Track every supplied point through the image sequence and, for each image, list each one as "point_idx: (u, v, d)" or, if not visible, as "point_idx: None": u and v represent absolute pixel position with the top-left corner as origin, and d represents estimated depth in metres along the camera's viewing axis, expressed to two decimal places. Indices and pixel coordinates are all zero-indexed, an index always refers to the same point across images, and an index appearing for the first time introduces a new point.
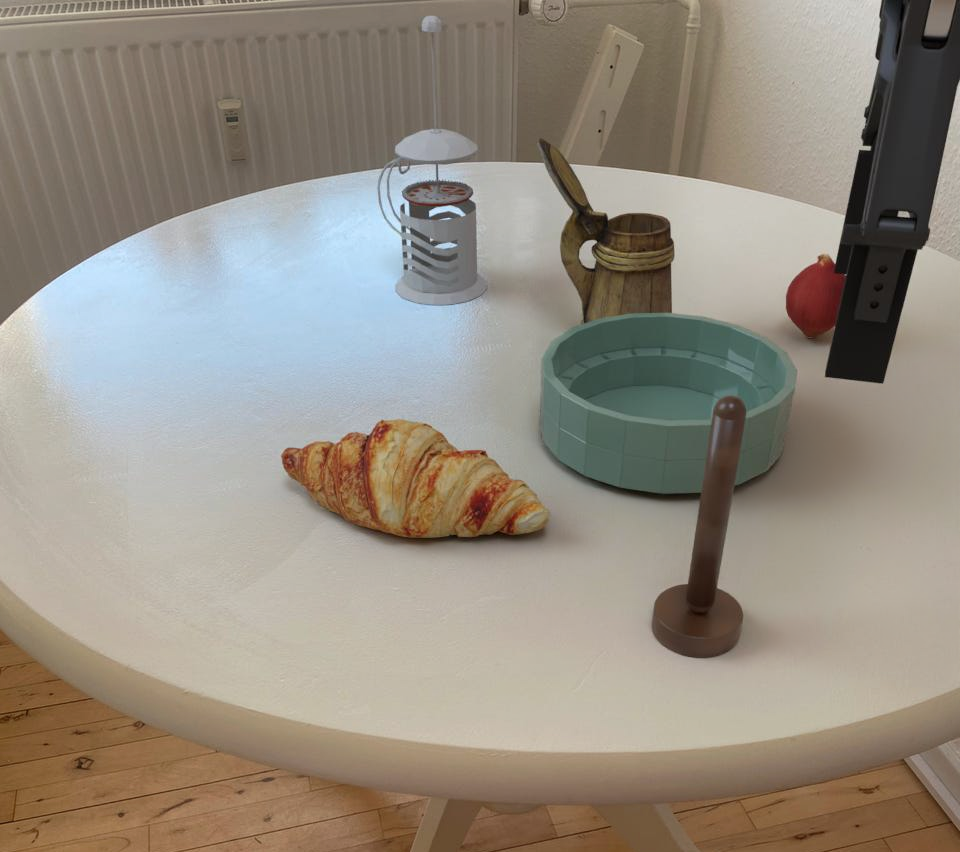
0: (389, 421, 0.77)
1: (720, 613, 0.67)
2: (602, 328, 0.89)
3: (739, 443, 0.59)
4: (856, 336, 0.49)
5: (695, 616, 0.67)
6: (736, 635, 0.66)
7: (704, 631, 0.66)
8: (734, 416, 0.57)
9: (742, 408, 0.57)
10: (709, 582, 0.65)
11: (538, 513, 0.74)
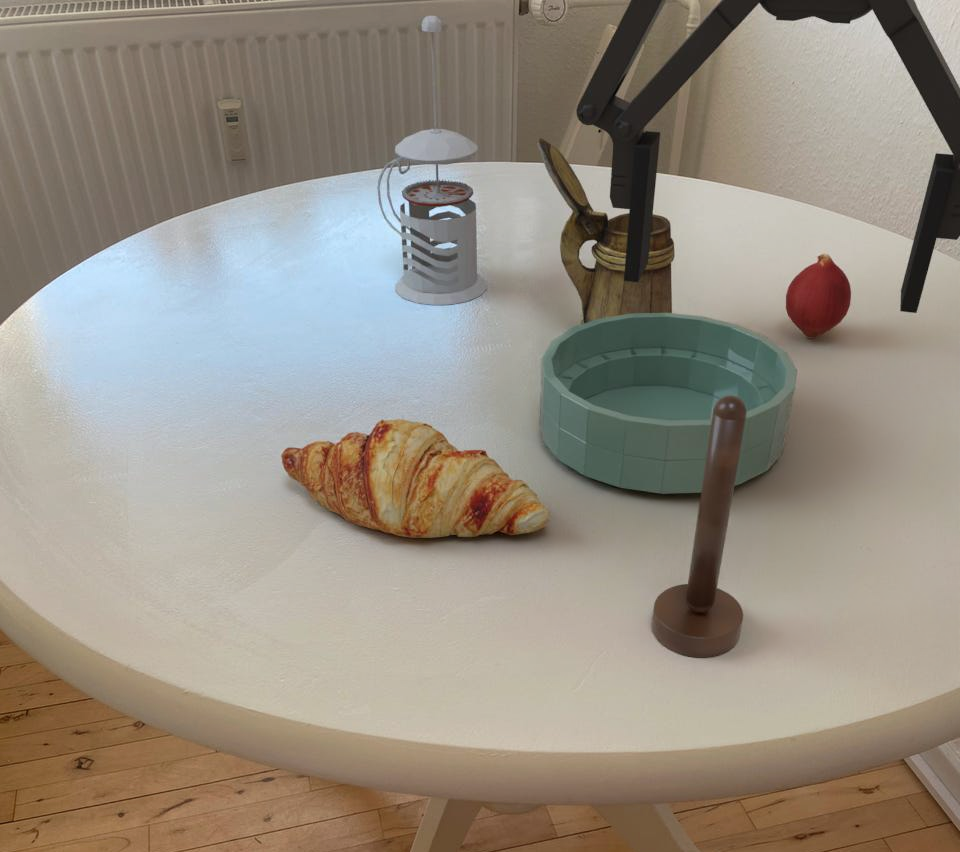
0: (389, 421, 0.77)
1: (720, 613, 0.67)
2: (602, 328, 0.89)
3: (739, 443, 0.59)
4: None
5: (695, 616, 0.67)
6: (736, 635, 0.66)
7: (704, 631, 0.66)
8: (734, 416, 0.57)
9: (742, 408, 0.57)
10: (709, 582, 0.65)
11: (538, 513, 0.74)
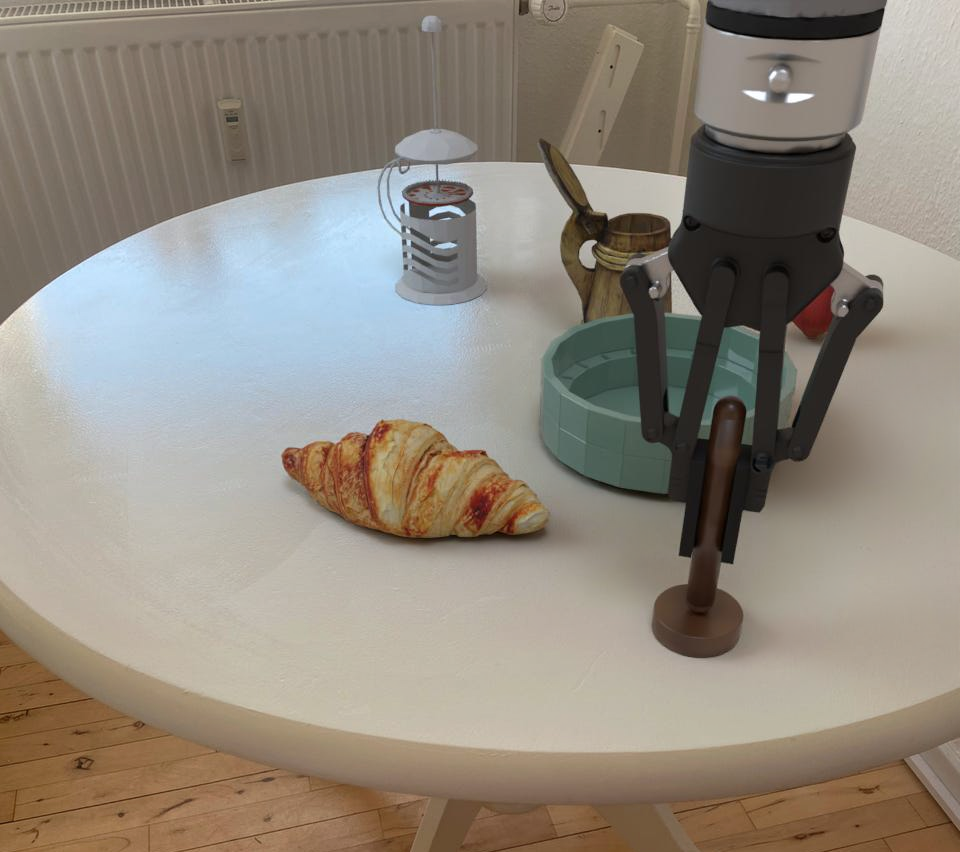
0: (389, 421, 0.77)
1: (720, 613, 0.67)
2: (602, 328, 0.89)
3: (739, 443, 0.59)
4: None
5: (695, 616, 0.67)
6: (736, 635, 0.66)
7: (704, 631, 0.66)
8: (734, 416, 0.57)
9: (742, 408, 0.57)
10: (709, 582, 0.65)
11: (538, 513, 0.74)
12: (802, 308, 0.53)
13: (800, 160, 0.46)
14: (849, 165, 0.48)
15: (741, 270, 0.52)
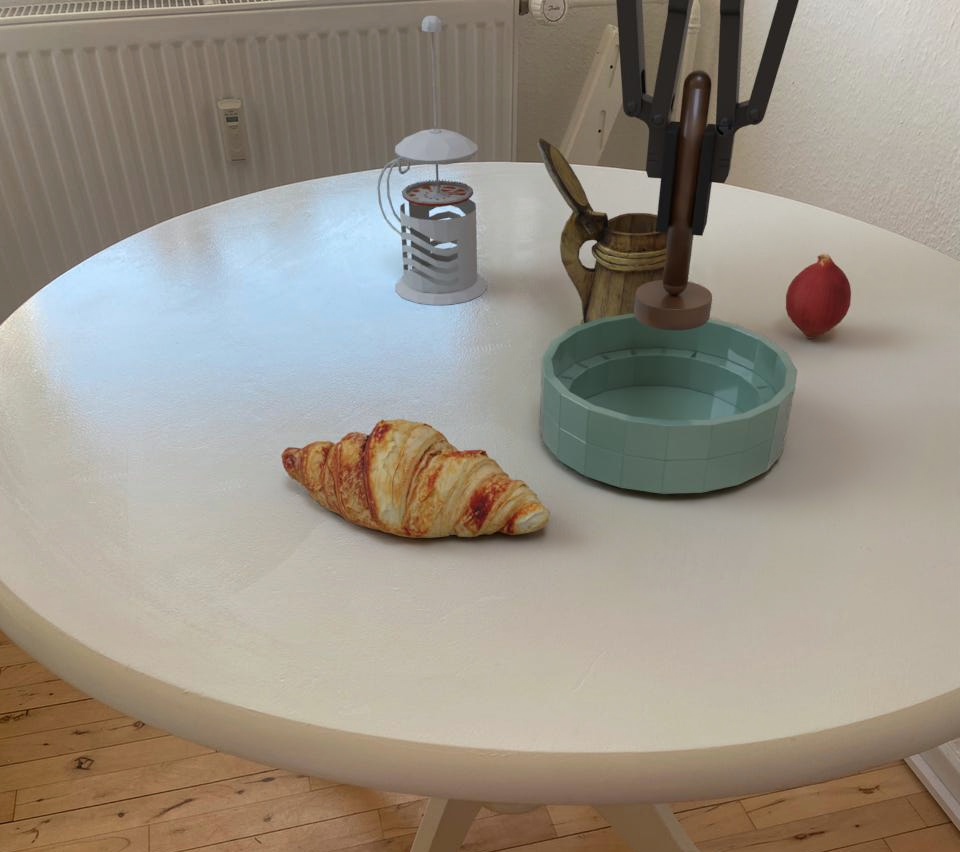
0: (389, 421, 0.77)
1: (693, 295, 0.77)
2: (602, 328, 0.89)
3: (706, 114, 0.69)
4: (708, 198, 0.73)
5: (670, 297, 0.77)
6: (706, 312, 0.77)
7: (678, 305, 0.76)
8: (701, 85, 0.68)
9: (707, 78, 0.68)
10: (682, 259, 0.75)
11: (538, 513, 0.74)
12: None
13: None
14: None
15: None
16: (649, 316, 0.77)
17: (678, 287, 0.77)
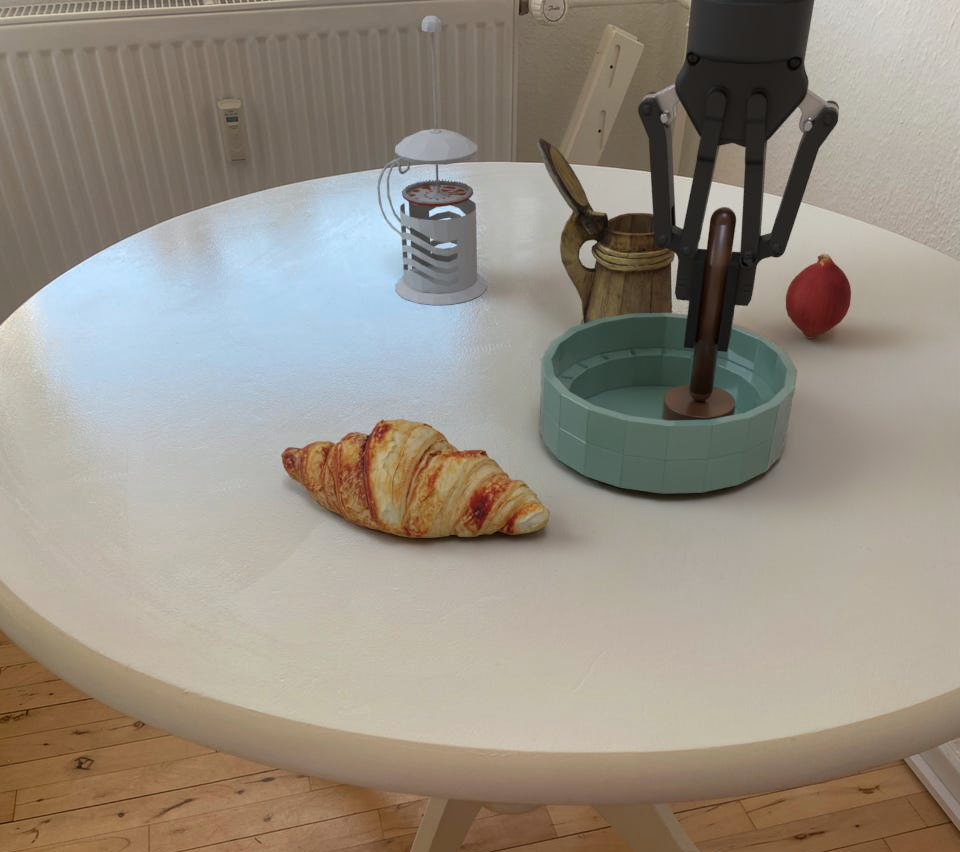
0: (389, 421, 0.77)
1: (717, 401, 0.83)
2: (602, 328, 0.89)
3: (730, 246, 0.75)
4: (732, 318, 0.79)
5: (697, 404, 0.83)
6: None
7: (704, 412, 0.82)
8: (726, 222, 0.74)
9: (732, 216, 0.74)
10: (708, 371, 0.81)
11: (538, 513, 0.74)
12: (777, 126, 0.69)
13: None
14: (810, 6, 0.64)
15: (730, 96, 0.69)
16: None
17: (704, 395, 0.83)
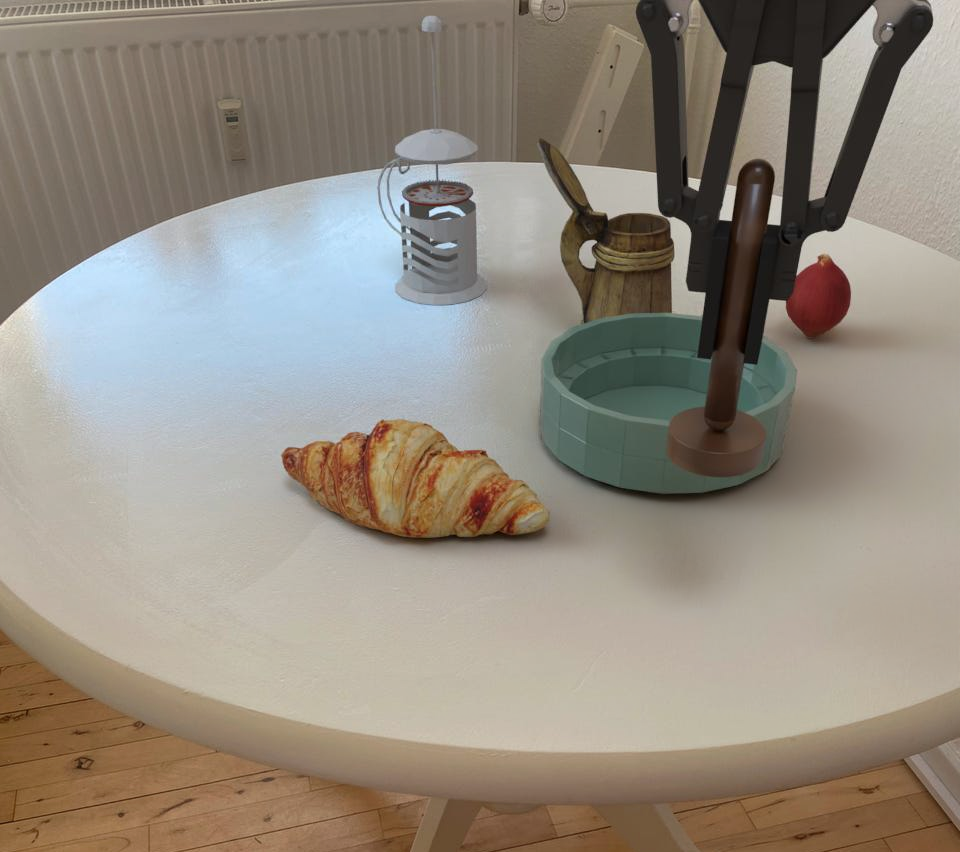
0: (389, 421, 0.77)
1: (742, 431, 0.61)
2: (602, 328, 0.89)
3: (766, 215, 0.53)
4: (765, 318, 0.56)
5: (714, 434, 0.61)
6: (759, 454, 0.60)
7: (724, 447, 0.60)
8: (761, 179, 0.52)
9: (770, 171, 0.52)
10: (730, 390, 0.59)
11: (538, 513, 0.74)
12: (841, 35, 0.47)
13: None
14: None
15: None
16: (686, 459, 0.60)
17: (724, 423, 0.60)
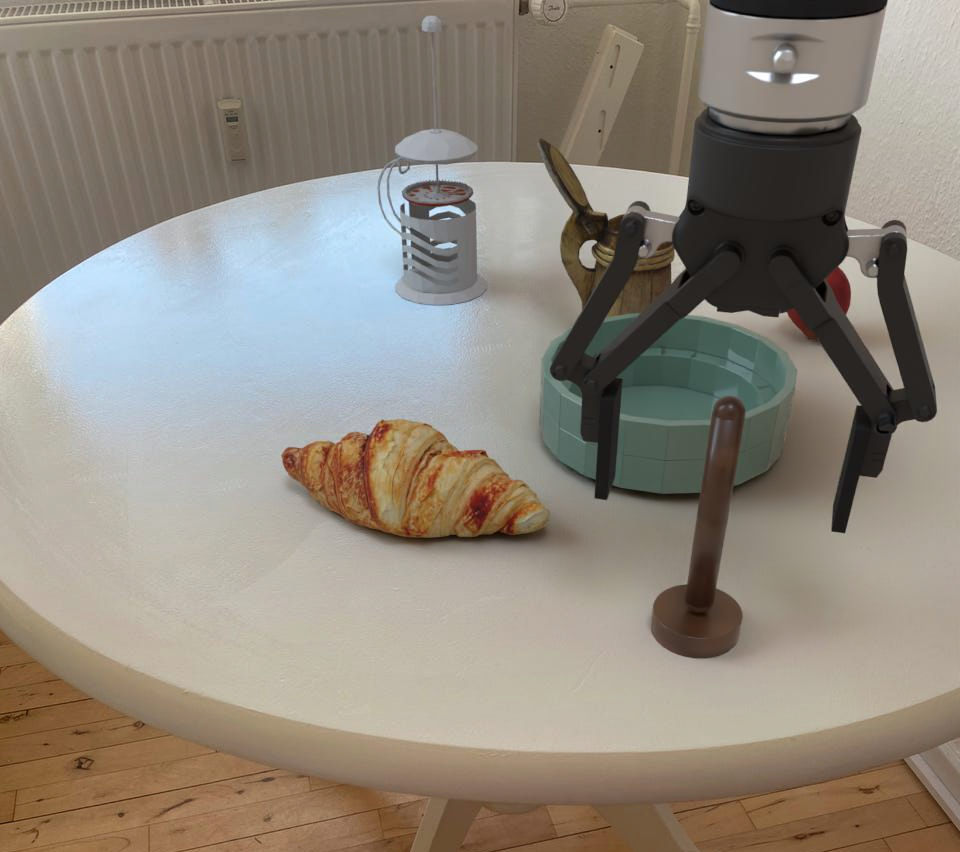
0: (389, 421, 0.77)
1: (720, 613, 0.67)
2: (602, 328, 0.89)
3: (738, 443, 0.59)
4: None
5: (694, 616, 0.67)
6: (735, 635, 0.66)
7: (703, 631, 0.65)
8: (733, 416, 0.57)
9: (741, 408, 0.57)
10: (708, 582, 0.65)
11: (538, 513, 0.74)
12: None
13: (805, 142, 0.46)
14: (855, 147, 0.47)
15: (746, 255, 0.52)
16: (669, 640, 0.66)
17: (703, 608, 0.66)
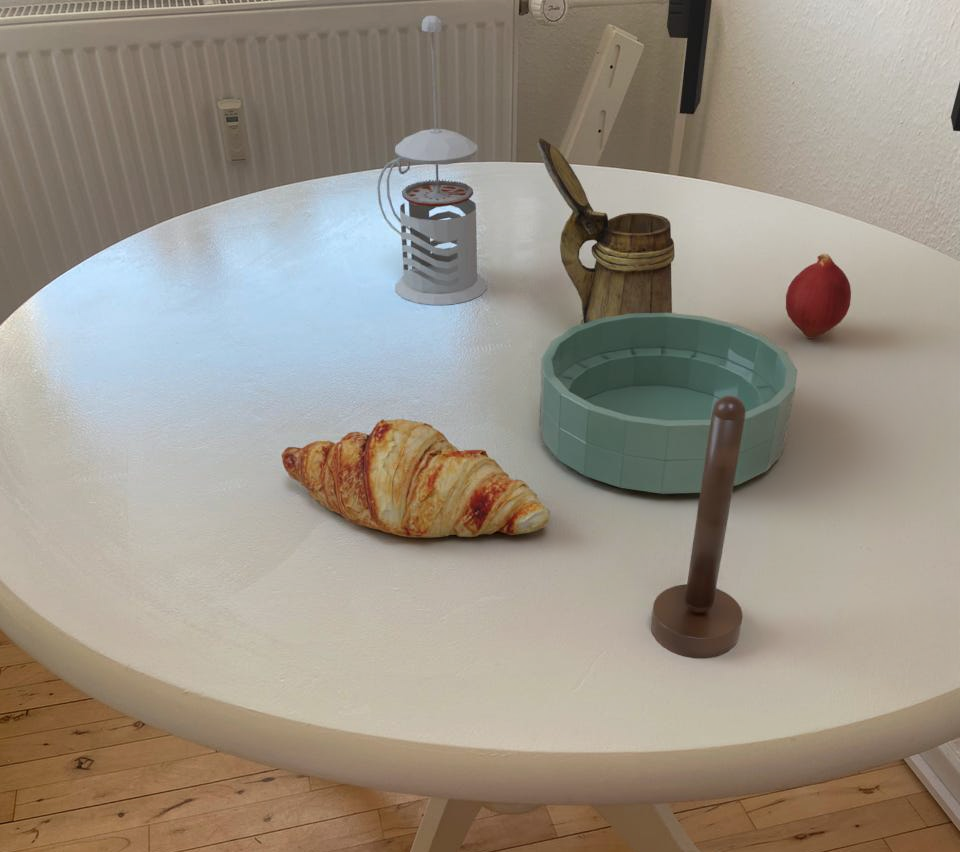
0: (389, 421, 0.77)
1: (720, 613, 0.67)
2: (602, 328, 0.89)
3: (738, 443, 0.59)
4: None
5: (694, 616, 0.67)
6: (735, 635, 0.66)
7: (703, 631, 0.65)
8: (733, 416, 0.57)
9: (741, 408, 0.57)
10: (708, 582, 0.65)
11: (538, 513, 0.74)
12: None
13: None
14: None
15: None
16: (669, 640, 0.66)
17: (703, 608, 0.66)
